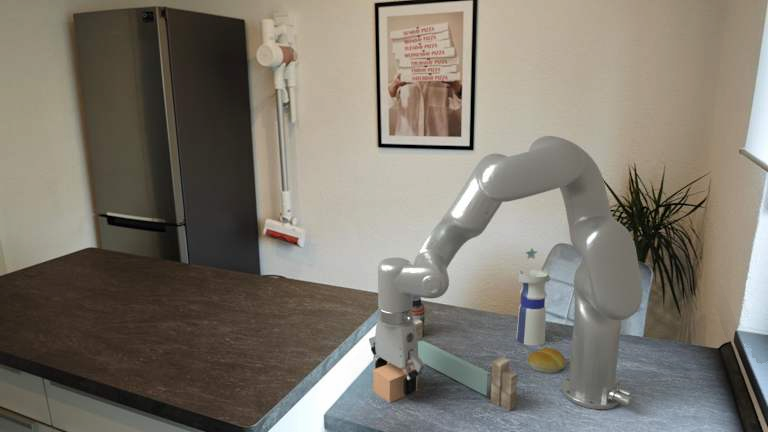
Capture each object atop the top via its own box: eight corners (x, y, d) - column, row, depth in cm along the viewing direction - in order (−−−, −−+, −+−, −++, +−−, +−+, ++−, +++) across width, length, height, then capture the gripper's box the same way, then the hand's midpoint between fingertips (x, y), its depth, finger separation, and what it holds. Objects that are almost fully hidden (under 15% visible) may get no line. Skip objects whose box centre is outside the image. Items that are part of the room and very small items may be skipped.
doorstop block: (417, 391, 122) (417, 369, 121) (389, 403, 117) (389, 380, 116) (400, 380, 127) (400, 359, 126) (373, 391, 122) (373, 369, 121)
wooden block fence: (516, 406, 116) (519, 364, 113) (508, 411, 114) (510, 369, 112) (408, 350, 141) (408, 315, 139) (400, 354, 139) (400, 318, 137)
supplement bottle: (404, 329, 153) (404, 292, 151) (424, 330, 152) (425, 293, 150) (401, 339, 148) (401, 300, 145) (423, 340, 147) (423, 301, 144)
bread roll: (521, 364, 134) (521, 349, 133) (545, 354, 139) (546, 340, 138) (546, 378, 127) (547, 363, 126) (571, 368, 132) (573, 353, 131)
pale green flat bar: (496, 396, 119) (496, 375, 118) (490, 399, 118) (491, 378, 117) (421, 357, 136) (422, 339, 135) (416, 360, 135) (416, 341, 134)
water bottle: (507, 336, 149) (511, 250, 143) (531, 330, 152) (536, 246, 147) (526, 348, 142) (532, 258, 136) (552, 342, 145) (558, 254, 139)
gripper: (435, 321, 114) (434, 393, 118) (382, 298, 127) (383, 364, 130) (409, 331, 109) (409, 406, 113) (357, 306, 122) (358, 375, 126)
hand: (395, 384), depth 122 cm, fingers open, 9 cm apart
